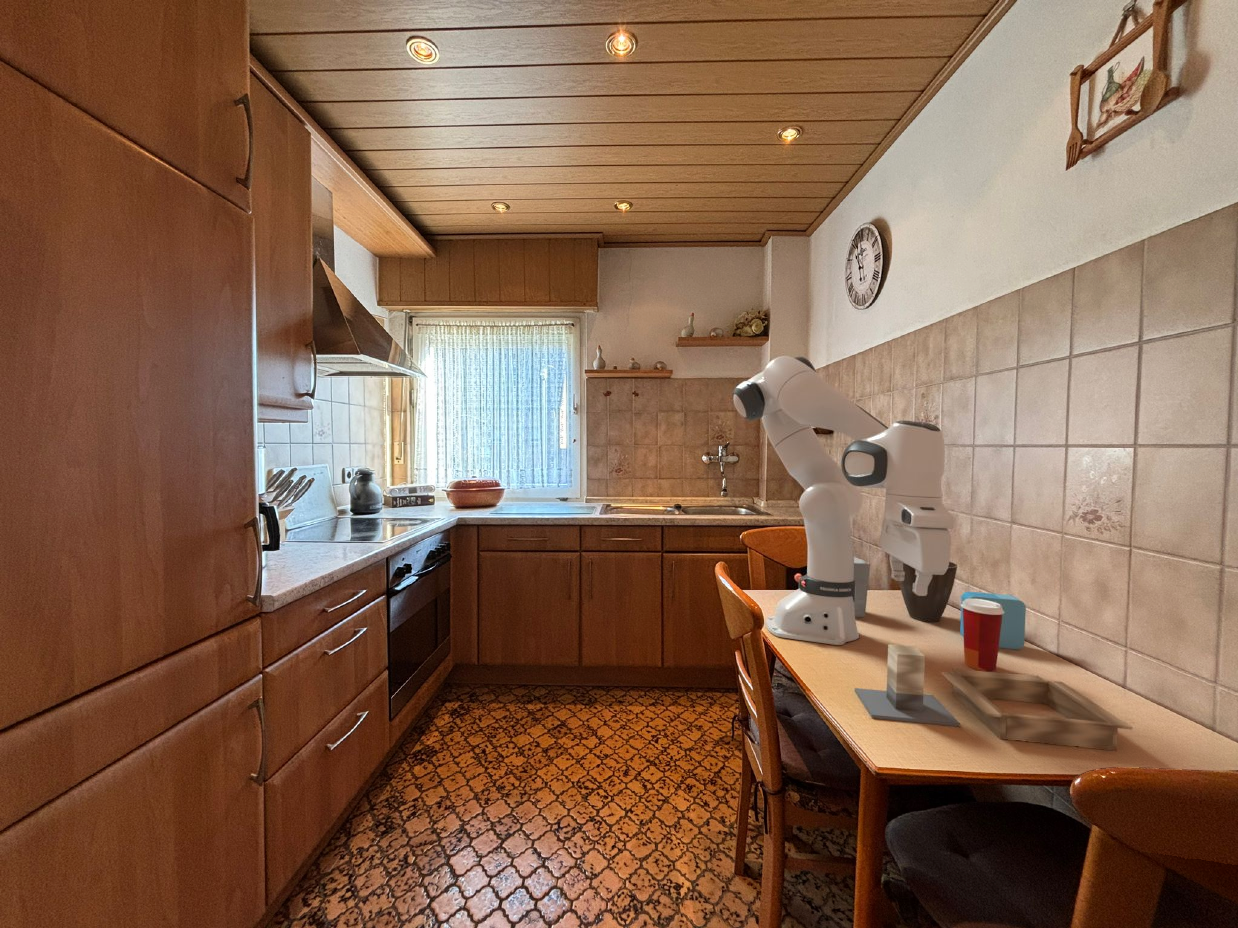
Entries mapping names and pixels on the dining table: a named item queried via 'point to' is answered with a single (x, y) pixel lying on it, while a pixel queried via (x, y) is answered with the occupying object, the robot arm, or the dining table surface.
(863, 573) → the skincare box
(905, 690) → the box
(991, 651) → the paper cup
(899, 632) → the dining table surface
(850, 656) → the dining table surface
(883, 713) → the rubber mat
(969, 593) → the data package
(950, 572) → the plant pot
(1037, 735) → the wooden frame
